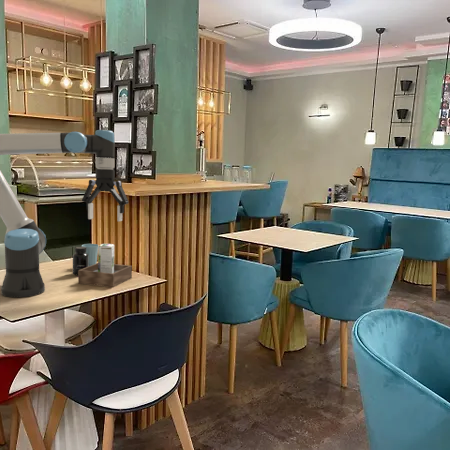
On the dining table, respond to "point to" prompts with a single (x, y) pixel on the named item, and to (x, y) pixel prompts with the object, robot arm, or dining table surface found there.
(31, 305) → the dining table surface
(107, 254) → the syrup box
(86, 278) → the socket crate
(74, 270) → the supplement bottle
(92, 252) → the cup
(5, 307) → the dining table surface
